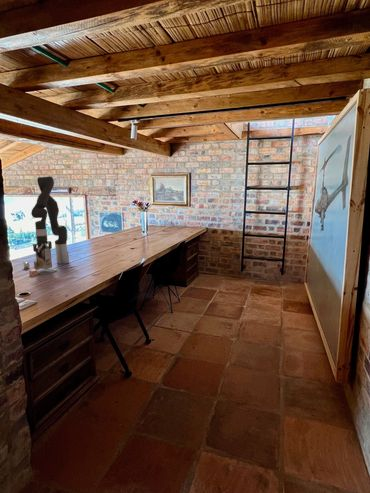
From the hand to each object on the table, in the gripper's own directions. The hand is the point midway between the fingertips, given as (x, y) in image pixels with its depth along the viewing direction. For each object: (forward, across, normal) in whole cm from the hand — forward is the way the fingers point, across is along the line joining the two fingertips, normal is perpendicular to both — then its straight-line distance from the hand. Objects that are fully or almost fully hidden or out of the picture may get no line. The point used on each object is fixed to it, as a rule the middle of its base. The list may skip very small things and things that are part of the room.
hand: (43, 255), depth 216 cm
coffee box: (+10, 0, 0) cm, 10 cm away
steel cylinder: (+14, +1, -23) cm, 27 cm away
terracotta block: (+14, +9, -1) cm, 16 cm away
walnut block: (+14, -7, -19) cm, 24 cm away
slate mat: (+13, 0, 0) cm, 13 cm away
